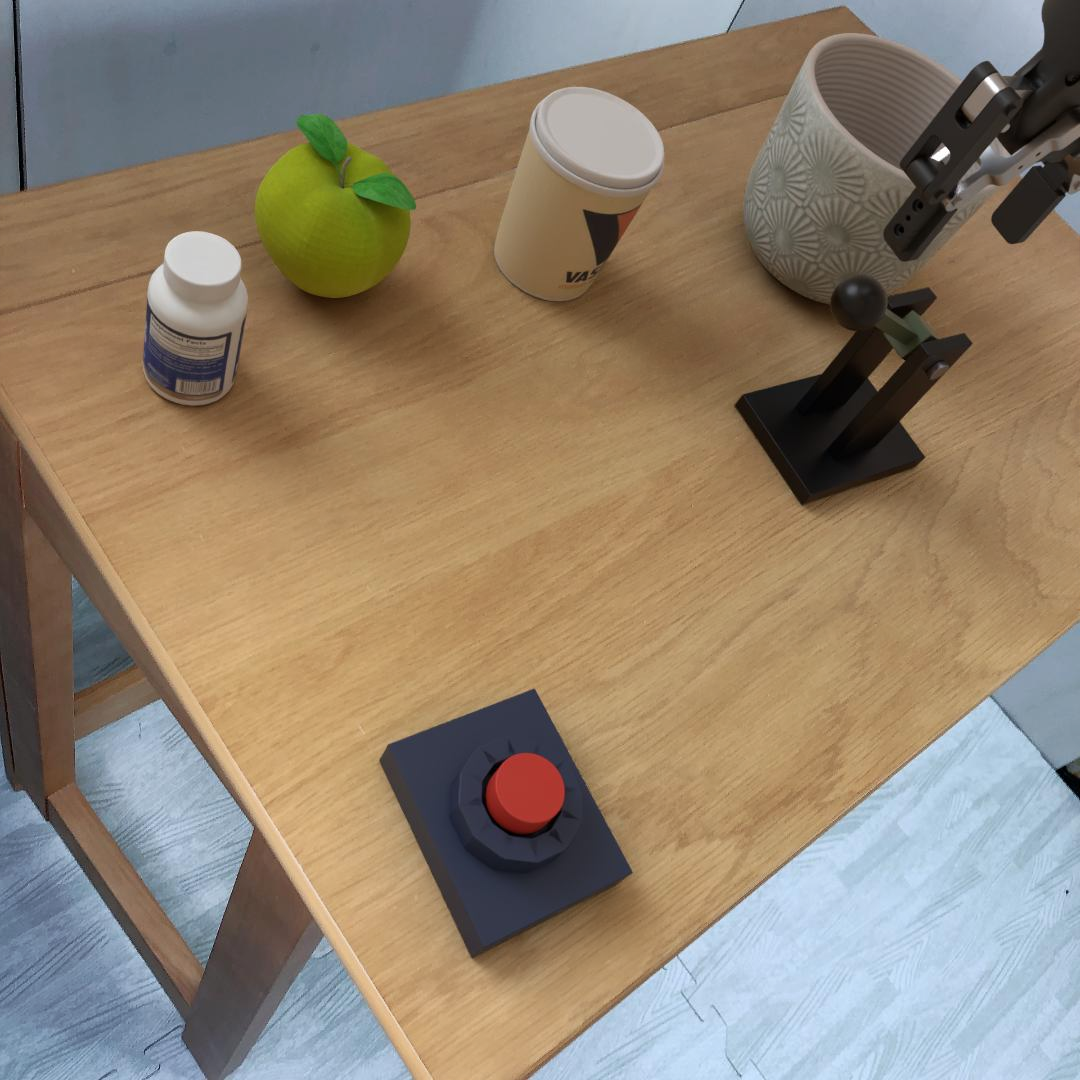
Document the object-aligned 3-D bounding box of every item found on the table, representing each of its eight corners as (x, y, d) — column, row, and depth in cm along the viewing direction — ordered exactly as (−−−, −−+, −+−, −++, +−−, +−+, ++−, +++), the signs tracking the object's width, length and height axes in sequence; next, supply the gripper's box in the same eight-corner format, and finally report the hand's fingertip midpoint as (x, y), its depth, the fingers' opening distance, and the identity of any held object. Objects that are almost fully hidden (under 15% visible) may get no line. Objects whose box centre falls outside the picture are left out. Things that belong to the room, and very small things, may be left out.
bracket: (801, 505, 80) (907, 391, 70) (734, 405, 83) (825, 281, 73) (916, 467, 86) (1028, 356, 76) (849, 374, 89) (948, 256, 79)
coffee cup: (561, 331, 82) (626, 204, 72) (457, 253, 82) (508, 117, 73) (624, 270, 87) (692, 144, 78) (526, 198, 88) (581, 64, 78)
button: (565, 818, 58) (578, 806, 57) (505, 846, 56) (516, 834, 55) (532, 755, 59) (544, 742, 58) (473, 780, 58) (483, 767, 56)
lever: (842, 336, 66) (888, 299, 64) (811, 295, 67) (856, 257, 65) (912, 375, 77) (953, 344, 76) (886, 339, 78) (925, 308, 77)
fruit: (321, 205, 80) (349, 86, 72) (414, 293, 79) (453, 181, 71) (217, 254, 75) (235, 131, 67) (315, 348, 73) (345, 234, 66)
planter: (684, 179, 96) (773, 18, 84) (848, 192, 103) (951, 45, 91) (755, 337, 88) (864, 185, 76) (927, 339, 95) (1051, 200, 83)
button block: (617, 884, 61) (647, 861, 58) (471, 958, 56) (495, 938, 53) (522, 704, 65) (545, 673, 62) (378, 760, 60) (395, 730, 57)
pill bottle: (178, 324, 71) (190, 205, 63) (252, 370, 71) (274, 257, 63) (122, 376, 68) (128, 257, 60) (200, 424, 68) (216, 311, 60)
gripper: (1145, 19, 43) (898, 312, 56) (1336, 16, 50) (1077, 277, 63) (1026, -106, 46) (817, 201, 59) (1223, -93, 53) (997, 179, 66)
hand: (952, 240), depth 61 cm, fingers open, 8 cm apart
